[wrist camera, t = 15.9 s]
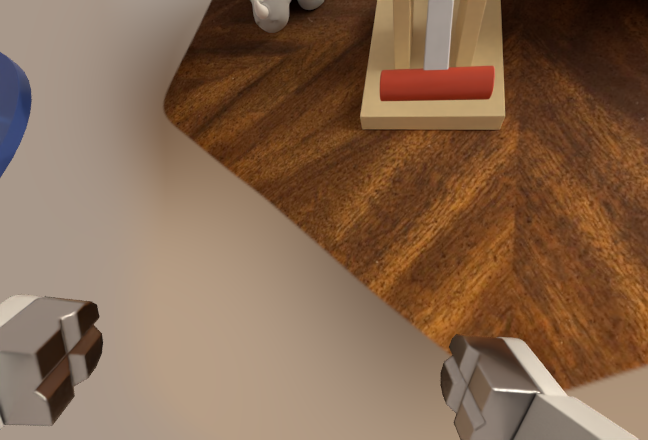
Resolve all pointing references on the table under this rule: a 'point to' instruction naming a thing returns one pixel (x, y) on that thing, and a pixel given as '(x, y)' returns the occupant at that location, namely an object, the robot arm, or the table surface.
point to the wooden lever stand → (408, 53)
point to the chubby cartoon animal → (277, 12)
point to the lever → (437, 68)
